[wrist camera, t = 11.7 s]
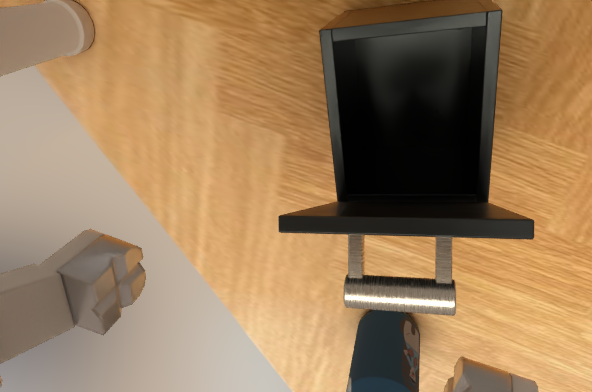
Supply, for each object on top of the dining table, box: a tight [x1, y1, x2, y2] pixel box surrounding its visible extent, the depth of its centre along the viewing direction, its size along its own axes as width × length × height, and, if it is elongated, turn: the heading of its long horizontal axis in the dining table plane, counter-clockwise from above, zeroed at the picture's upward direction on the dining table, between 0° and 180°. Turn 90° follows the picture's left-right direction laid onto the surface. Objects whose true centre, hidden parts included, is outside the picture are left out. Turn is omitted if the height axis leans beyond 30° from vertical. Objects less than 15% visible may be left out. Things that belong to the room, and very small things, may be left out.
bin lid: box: [279, 202, 534, 316], centre depth 25 cm, size 13×11×5 cm
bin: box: [319, 0, 502, 202], centre depth 33 cm, size 13×11×10 cm
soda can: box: [346, 310, 420, 392], centre depth 46 cm, size 7×7×12 cm
